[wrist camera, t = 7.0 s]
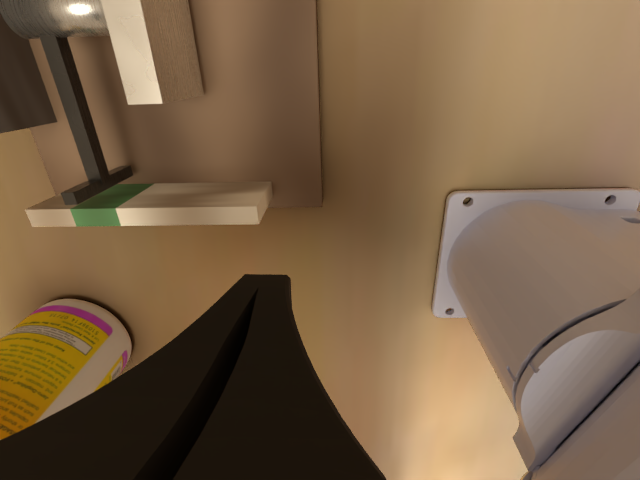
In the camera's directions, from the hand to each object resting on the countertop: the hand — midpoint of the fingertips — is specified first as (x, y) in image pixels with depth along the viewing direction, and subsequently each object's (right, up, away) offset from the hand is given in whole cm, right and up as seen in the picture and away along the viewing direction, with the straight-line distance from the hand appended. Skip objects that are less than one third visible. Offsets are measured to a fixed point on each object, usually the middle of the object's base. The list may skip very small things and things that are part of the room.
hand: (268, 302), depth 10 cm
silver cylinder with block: (-6, +9, +5) cm, 12 cm away
